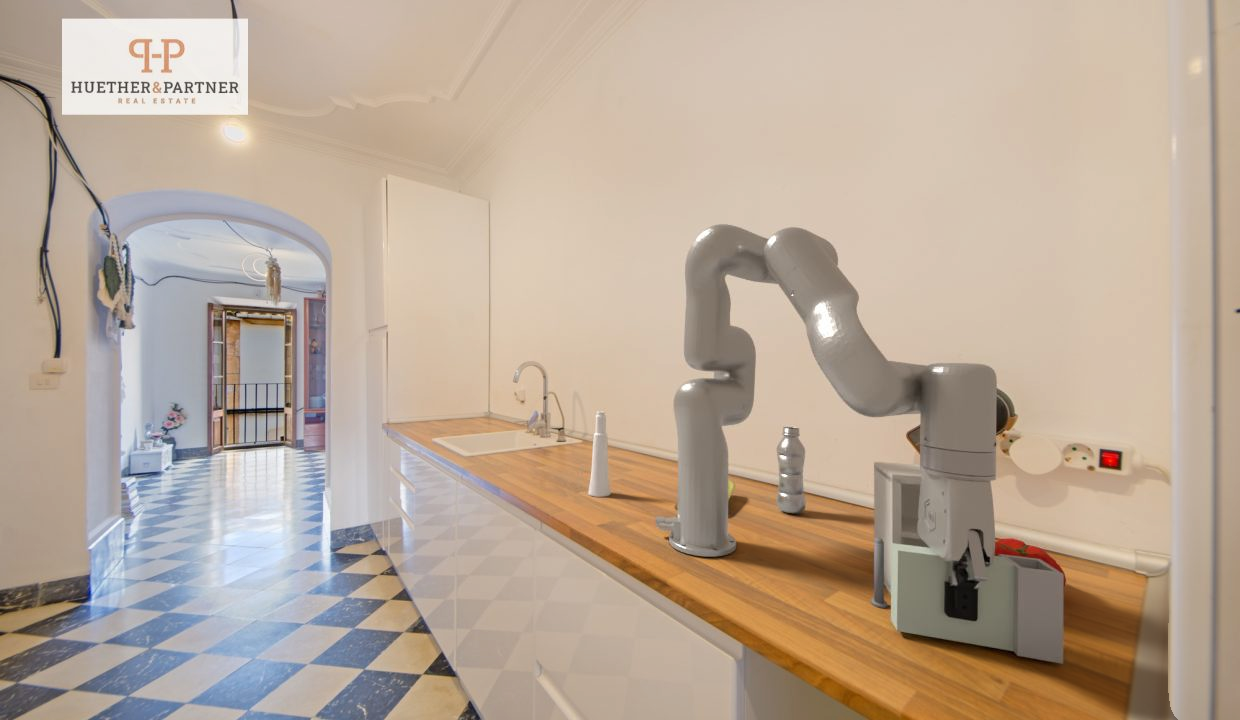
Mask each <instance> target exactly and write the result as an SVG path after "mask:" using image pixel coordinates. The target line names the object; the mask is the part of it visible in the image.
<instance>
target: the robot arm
mask: <svg viewBox="0 0 1240 720" xmlns="http://www.w3.org/2000/svg"><path fill="white" fill-rule="evenodd" d="M728 275H729V276H732V277H735V278H739V279H743V280H746V281H750V282H756V283H761V284H763V283H764V284H765V283H766V284H774V285H778V286H779V288H780V290H781V291H782V292H783V293H784V295H785V297H786V298H787V299H788V300H789V302H790V303H791V305H792V306H793V307H794V309H795V311H796V312H797V314H798V315H799V317H800V318H801V320H802V322H803V323H804V325H805V327H806V328H805V330H806V336H807V338H808V342H809V345H810V349H811V352H812V355H813V357H814V359H815V361H816V364H817V365H818V366H819V368H820V370H821V371H822V373H823V374H824V375H825V377H826V379H827V380H828V382H829V383H830V385H831V387H832V388H833V389H834V391H835V392H836V394H837V395H838V396H839V398H840V400H841V399H842V402H844V403H845V404H846V405H847V406H848V407H849V408H850V409H851V410H853V411H854V412H856V413H858V414H860V415H862V416H864V417H868V418H884V417H885V418H886V417H891V416H892V417H893V416H902V415H919V414H920V420H919V421H920V422H919V423H920V424H919V425H920V426H919V427H920V428H919V430H920V433H919V435H920V436H919V465H920V470H922V471H923V472H922V478H921V485H920V495H919V509H918V526H917V531H918V534H919V536H920V538H921V539H922V540H923V541H924V542H925V543H926V544H927V545H928V546H929V547H930V548H931V549H932V550H933V551H934V552H935V553H936V554H937V555H938V556H939V557H941V558H942V559H943V560H944V561H946V562H948V581H949V582H945V599H944V612H945V614H946V615H947V616H948V617H950V618H957V619H963V620H969V621H977V620H978V590H979V588H980V581H987V573H986V568H985V567H989V566H991V565H992V564H993V562H994V556H995V541H996V529H995V528H996V527H995V524H996V523H995V510H994V499H993V498H994V497H993V492H992V491H993V489H992V483H991V482H992V481H996V480H997V404H998V403H997V398H998V397H997V396H998V394H997V392H998V391H997V390H998V387H997V386H998V385H997V384H998V383H997V380H998V379H997V373H996V372H995V370H994V369H993V367H991V366H989V365H987V364H985V363H984V364H981V363H969V362H965V363H964V362H944V363H943V362H941V363H940V362H939V363H938V362H937V363H931V364H928V365H927V364H926V365H925V364H918V363H917V364H916V363H908V362H902V361H893V360H888V359H887V357H885V355H884V354H883V352H882V351H881V350H880V349H879V347H878V346H877V345H876V344H875V342H874V341H873V340H872V337H870V336H869V334H868V333H867V331H866V329H865V328H864V326H863V324H862V322H861V320H860V317H859V316H858V310H857V309H858V308H857V307H858V303H859V302H860V301H859V299H860V296H859V292H858V291H857V289H856V288H855V286H854V285H853V284H852V283H851V282H850V280H849V279H848V278H847V276H846V275H845V274H844V273H843V272H842V271H841V269H840V268H839V256H838V252H837V250H836V248H835V247H834V245H833V244H832V243H831V242H830V241H828V240H827V239H826V238H823V237H822V236H820V235H817V234H815V233H813V232H811V231H809V230H807V229H804V228H801V227H795V226H793V227H792V226H791V227H785V228H781V229H779V230H778V231H776V232H775V233H773V234H772V235H771V236H770V237H769V238H767V237H764V236H762V235H759V234H756V233H754V232H752V231H749V230H748V229H745V228H743V227H739V226H736V225H733V224H727V223H726V224H724V223H723V224H722V223H720V224H715V225H711V226H709V227H707V228H705V229H704V230H703V231H701V232H700V233H699V234H698V235H697V237H695V239H694V240H693V242H692V244H691V245H690V247H689V250H688V252H687V255H686V259H685V264H684V279H685V297H686V299H685V300H686V301H685V312H684V313H685V315H684V337H683V356H684V360H685V363H686V364H687V365H688V366H689V367H690V368H692V369H694V370H696V371H700V372H701V371H702V372H713V378H707V377H706V378H705V377H702V378H701V377H699V378H694V379H690V380H688V381H686V382H684V383H682V384H681V385H680V386H679V387H678V388H677V390H676V392H675V395H674V398H673V412H674V418H675V423H676V424H675V425H676V430H677V431H676V432H677V502H678V509H677V515H676V516H672V517H665V516H656V517H655V520H654V523H655V527H658V529H659V531H665V532H666V531H668V532H669V531H670V533H669V537H668V541H669V542H668V543H669V544H670V546H671V547H673V548H674V549H675V550H677V551H678V552H681V553H683V554H687V555H691V556H696V557H703V558H704V557H706V558H711V557H713V558H715V557H722V556H727V555H729V554H732V553H733V552H734V551H735V550H736V549H737V540H736V538H735V537H734V536H733V535H732V534H730V533H729V501H728V477H729V448H728V446H729V445H728V443H727V439H726V436H725V434H724V430H723V427H725V426H726V427H727V426H735V425H740V424H741V423H743V422H744V421H746V420H747V419H748V418H749V416H750V415H751V413H752V411H753V406H754V401H755V384H756V363H757V362H756V361H757V355H756V354H757V353H756V352H757V351H756V347H755V342H754V340H753V338H752V337H751V335H750V334H749V333H748V332H747V331H746V330H745V329H744V328H741V327H739V326H736V325H731V306H732V304H731V303H732V301H731V300H732V299H731V296H730V295H731V293H730V290H729V288H728V285H727V281H726V276H728ZM962 555H963V556H966V557H967V559H964V558H961V557H962ZM957 565H958V566H966V567H967V568H966V569H962V568H960V569H959V571H958V572H957Z"/></svg>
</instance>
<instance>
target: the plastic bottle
mask: <svg viewBox="0 0 1240 720" xmlns="http://www.w3.org/2000/svg"><path fill="white" fill-rule="evenodd" d="M800 435H801V434H800V428H799V427H793V426H783V428H782V436H783V437H782V439H781V440H780V441H779V442H778V444H777V446H776V456H777V463H778V471H779V472H778V476H779V477H778V486H777V493H776V499H775V501H776V506H777V507H778V509H779V510H780V511H782V512H784V513H790V514H802V513H804V510H806V505H807V500H806V495H805V489H804V466H805V465H804V464H805V459H806V449H805V448H806V447H805V446H804V445H803V442H801V440H800V439H799V437H800Z"/></svg>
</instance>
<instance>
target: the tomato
mask: <svg viewBox="0 0 1240 720" xmlns="http://www.w3.org/2000/svg"><path fill="white" fill-rule="evenodd" d="M999 554H1003V555H1011V556H1019V557H1027V558H1035V559H1041V560H1042V561H1044V562H1045V563H1047V564H1048V565H1050V566H1052V567H1053V568H1055V569H1056V570H1058V571H1059V572H1061V573H1062V574H1064V585H1063V592H1065V588H1066V583H1067V579H1066V575H1065V572H1064V570H1063V568H1062V567H1061V566H1060V564H1058V563H1057V561H1056V560H1055V559H1054V558H1053V557H1051V556H1050V554H1048V553H1047V552H1046V551H1045V550H1044V549H1042V548H1040V547H1039V546H1036V545H1029V544H1026V543H1025V542H1024V541H1023V540H1020V539H1015V538H1014V537H1013V538H1001V539H999V540H997V541H996V540H995V556H999Z"/></svg>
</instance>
